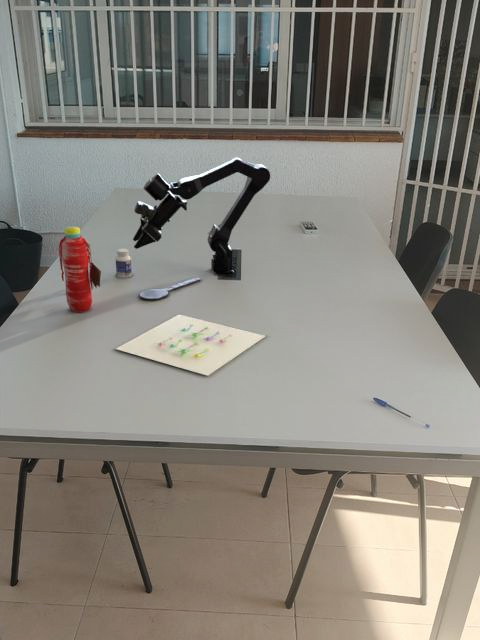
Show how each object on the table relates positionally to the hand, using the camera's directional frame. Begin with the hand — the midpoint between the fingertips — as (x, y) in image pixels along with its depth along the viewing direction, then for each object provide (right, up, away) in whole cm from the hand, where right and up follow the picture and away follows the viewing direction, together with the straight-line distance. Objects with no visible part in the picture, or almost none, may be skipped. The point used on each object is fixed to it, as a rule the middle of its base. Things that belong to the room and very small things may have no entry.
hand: (134, 244), depth 239 cm
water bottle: (-12, -26, -23) cm, 37 cm away
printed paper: (+22, -39, -45) cm, 63 cm away
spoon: (+13, -17, -7) cm, 23 cm away
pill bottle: (-4, -10, +5) cm, 12 cm away
